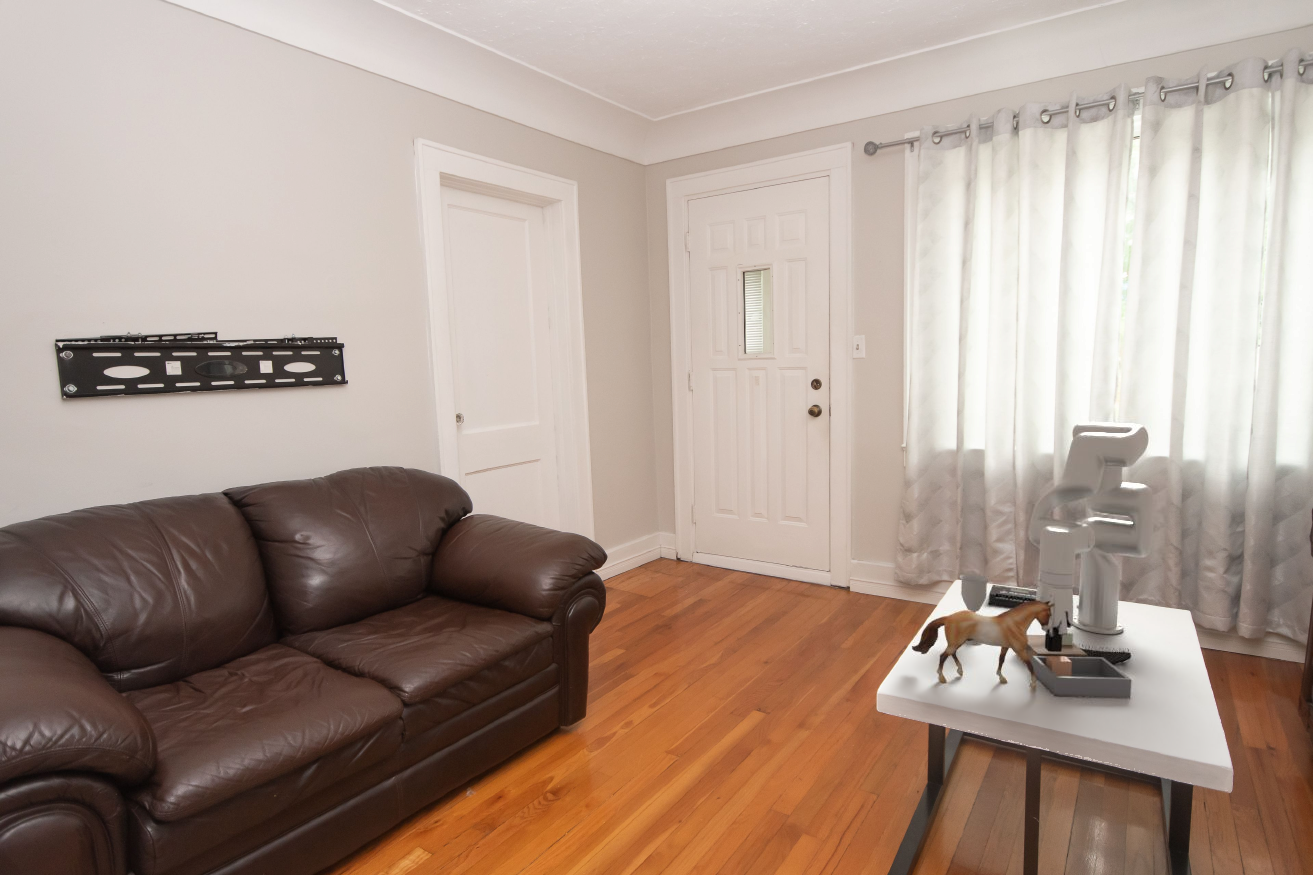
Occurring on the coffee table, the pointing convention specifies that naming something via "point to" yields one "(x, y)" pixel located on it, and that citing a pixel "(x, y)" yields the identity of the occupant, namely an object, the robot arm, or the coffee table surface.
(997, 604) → the wireless router
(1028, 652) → the brown square platform
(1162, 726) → the coffee table surface
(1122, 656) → the hairbrush
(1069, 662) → the peach cube block
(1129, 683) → the box
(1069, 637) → the pale green cube
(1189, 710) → the coffee table surface
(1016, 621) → the horse figurine
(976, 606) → the chalice
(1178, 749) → the coffee table surface
